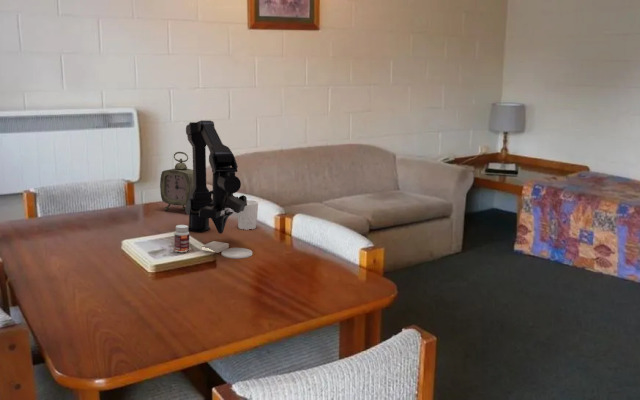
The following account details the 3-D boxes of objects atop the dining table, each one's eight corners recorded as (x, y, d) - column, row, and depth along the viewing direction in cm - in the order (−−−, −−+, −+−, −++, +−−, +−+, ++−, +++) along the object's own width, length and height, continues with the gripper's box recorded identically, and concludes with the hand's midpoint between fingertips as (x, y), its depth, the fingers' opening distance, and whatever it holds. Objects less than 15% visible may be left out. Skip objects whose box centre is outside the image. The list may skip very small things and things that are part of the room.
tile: (213, 246, 206) (202, 251, 200) (213, 241, 206) (202, 246, 200) (228, 248, 204) (217, 253, 198) (228, 243, 204) (218, 248, 197)
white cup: (259, 226, 235) (260, 200, 233) (255, 231, 227) (255, 205, 225) (239, 224, 235) (239, 199, 233) (234, 229, 228) (235, 203, 226)
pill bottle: (182, 254, 194) (182, 228, 193) (171, 251, 197) (171, 226, 195) (192, 250, 198) (192, 226, 197) (181, 248, 201) (181, 223, 199)
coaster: (215, 255, 195) (215, 253, 194) (230, 247, 204) (230, 246, 204) (243, 260, 191) (243, 258, 191) (257, 252, 200) (257, 250, 200)
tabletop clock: (160, 211, 251) (159, 151, 246) (173, 207, 259) (173, 149, 254) (189, 215, 246) (190, 154, 241) (202, 211, 254) (202, 152, 249)
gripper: (229, 195, 190) (228, 243, 193) (255, 186, 207) (254, 230, 210) (198, 191, 193) (197, 238, 196) (226, 182, 210) (226, 226, 214)
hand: (220, 233), depth 204 cm, fingers closed
